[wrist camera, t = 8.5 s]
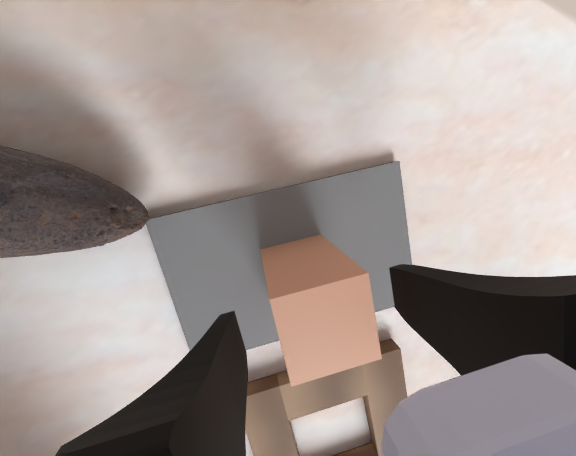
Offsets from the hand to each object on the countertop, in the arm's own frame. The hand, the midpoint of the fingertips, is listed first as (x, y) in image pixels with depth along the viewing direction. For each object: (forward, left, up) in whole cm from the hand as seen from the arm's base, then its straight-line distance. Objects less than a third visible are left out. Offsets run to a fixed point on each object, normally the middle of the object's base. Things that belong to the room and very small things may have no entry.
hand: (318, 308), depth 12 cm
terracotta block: (0, 0, -6) cm, 6 cm away
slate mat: (0, 0, -6) cm, 6 cm away
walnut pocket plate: (0, -14, -6) cm, 15 cm away
